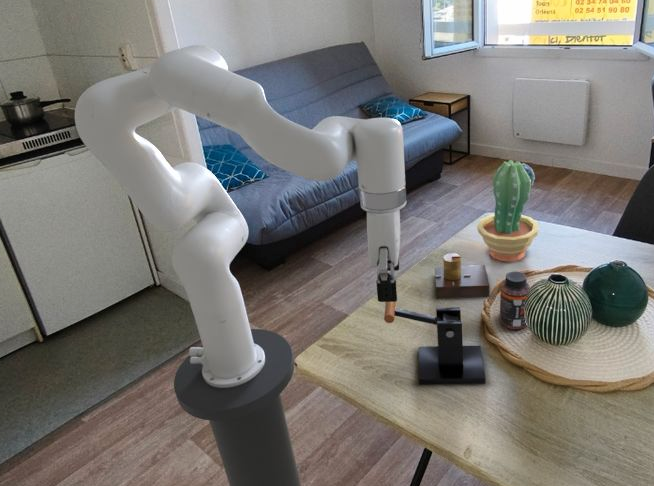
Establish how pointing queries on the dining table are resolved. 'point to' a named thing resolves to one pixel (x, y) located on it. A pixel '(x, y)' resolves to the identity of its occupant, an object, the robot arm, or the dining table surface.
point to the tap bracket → (450, 355)
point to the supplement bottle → (513, 300)
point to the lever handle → (413, 315)
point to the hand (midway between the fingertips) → (389, 284)
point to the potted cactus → (509, 213)
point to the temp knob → (452, 266)
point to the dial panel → (463, 283)
